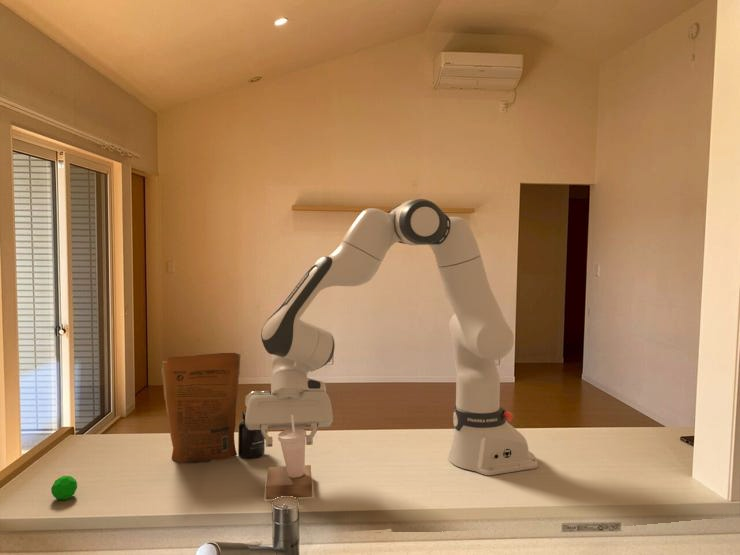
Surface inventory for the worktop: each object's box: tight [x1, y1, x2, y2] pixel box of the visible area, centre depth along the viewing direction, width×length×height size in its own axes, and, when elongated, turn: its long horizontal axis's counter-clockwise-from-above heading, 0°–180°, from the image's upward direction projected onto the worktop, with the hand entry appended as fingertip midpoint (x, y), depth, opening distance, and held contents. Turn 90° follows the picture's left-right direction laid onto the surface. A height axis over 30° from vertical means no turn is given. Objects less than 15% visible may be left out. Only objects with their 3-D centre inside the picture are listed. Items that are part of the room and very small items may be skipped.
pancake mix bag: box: [161, 352, 241, 464], centre depth 143 cm, size 7×19×28 cm, turn 99°
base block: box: [265, 464, 312, 499], centre depth 127 cm, size 10×10×3 cm
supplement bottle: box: [237, 409, 266, 460], centre depth 146 cm, size 7×7×12 cm
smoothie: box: [277, 415, 308, 478], centre depth 127 cm, size 6×6×14 cm
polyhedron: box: [50, 475, 78, 501], centre depth 122 cm, size 5×5×5 cm
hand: (289, 444), depth 126 cm, fingers open, 8 cm apart
